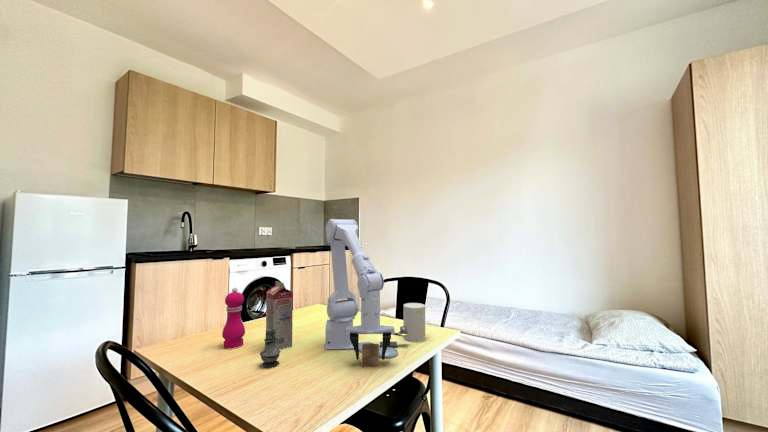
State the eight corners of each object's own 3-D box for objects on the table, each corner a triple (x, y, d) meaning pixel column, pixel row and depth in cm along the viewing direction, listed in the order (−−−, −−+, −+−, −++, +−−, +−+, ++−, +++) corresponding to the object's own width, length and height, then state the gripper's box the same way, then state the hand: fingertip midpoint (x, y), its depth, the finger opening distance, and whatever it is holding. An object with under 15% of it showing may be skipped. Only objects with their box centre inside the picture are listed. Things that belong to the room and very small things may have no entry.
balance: (367, 348, 106) (367, 329, 106) (367, 344, 110) (367, 325, 110) (410, 347, 106) (409, 328, 107) (408, 343, 110) (408, 325, 111)
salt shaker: (260, 370, 89) (261, 327, 90) (258, 362, 94) (259, 322, 95) (281, 366, 92) (282, 325, 92) (278, 359, 97) (279, 320, 98)
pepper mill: (216, 347, 107) (218, 288, 108) (234, 340, 113) (235, 285, 114) (232, 350, 104) (234, 290, 105) (249, 343, 111) (250, 286, 112)
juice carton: (273, 351, 103) (274, 284, 104) (265, 345, 108) (266, 282, 109) (292, 346, 108) (292, 282, 109) (284, 341, 113) (284, 280, 114)
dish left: (353, 352, 102) (353, 350, 102) (354, 344, 110) (354, 342, 110) (376, 352, 102) (376, 350, 102) (376, 344, 110) (376, 341, 110)
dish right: (374, 358, 97) (374, 356, 97) (374, 349, 105) (374, 347, 105) (398, 358, 97) (398, 355, 97) (397, 349, 105) (397, 346, 105)
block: (361, 367, 91) (361, 349, 92) (362, 360, 96) (362, 343, 97) (378, 367, 91) (378, 349, 92) (378, 360, 96) (378, 343, 97)
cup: (418, 343, 111) (418, 309, 111) (399, 338, 115) (399, 305, 116) (429, 337, 117) (429, 304, 118) (410, 333, 122) (410, 301, 123)
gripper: (345, 316, 90) (345, 364, 90) (395, 316, 91) (395, 363, 90) (347, 310, 97) (347, 354, 97) (393, 310, 98) (393, 354, 97)
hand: (370, 358), depth 94 cm, fingers open, 7 cm apart
